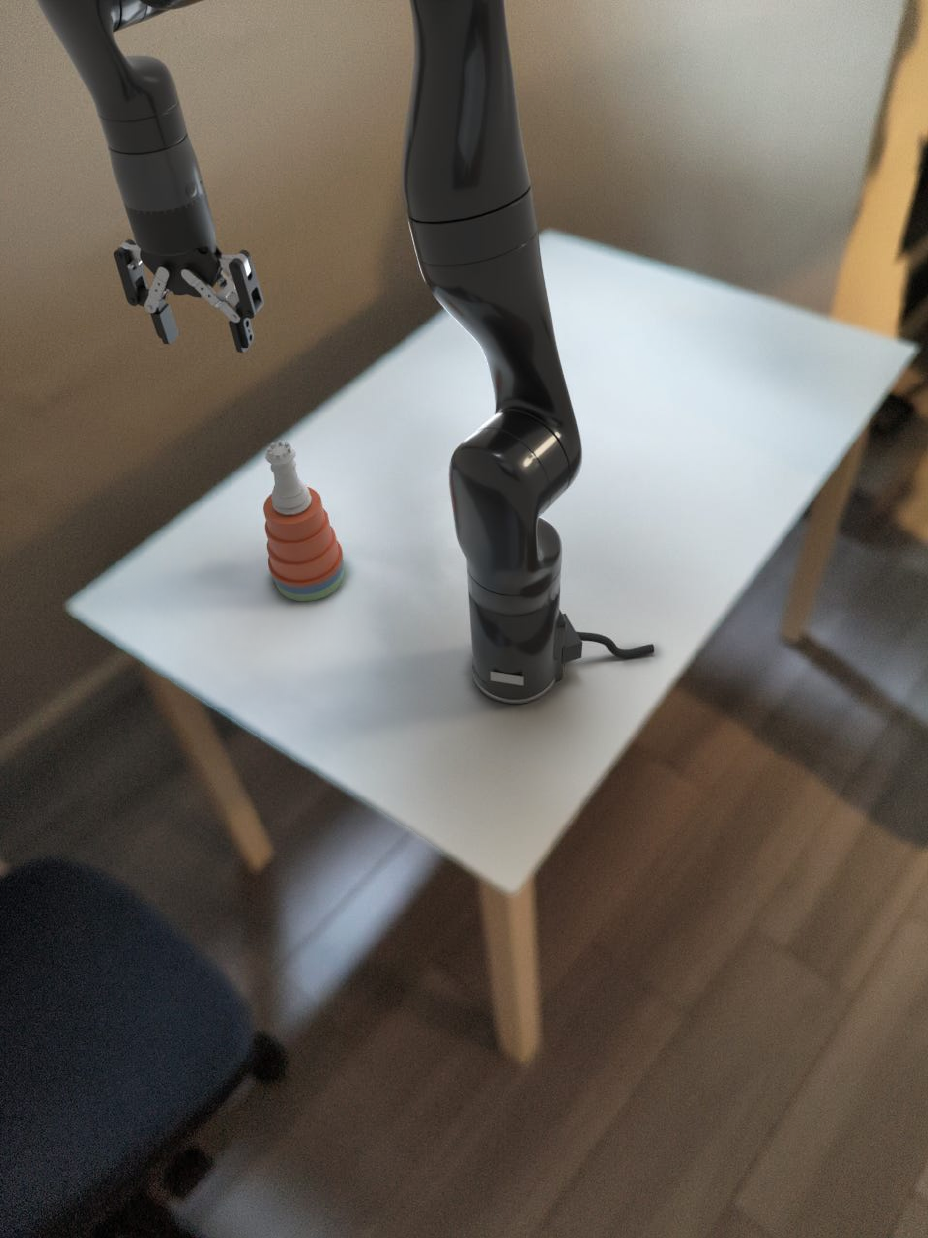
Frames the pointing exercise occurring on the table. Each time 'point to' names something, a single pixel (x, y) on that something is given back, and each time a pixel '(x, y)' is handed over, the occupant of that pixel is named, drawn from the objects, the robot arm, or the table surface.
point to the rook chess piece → (286, 481)
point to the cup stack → (303, 551)
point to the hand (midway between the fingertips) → (207, 344)
